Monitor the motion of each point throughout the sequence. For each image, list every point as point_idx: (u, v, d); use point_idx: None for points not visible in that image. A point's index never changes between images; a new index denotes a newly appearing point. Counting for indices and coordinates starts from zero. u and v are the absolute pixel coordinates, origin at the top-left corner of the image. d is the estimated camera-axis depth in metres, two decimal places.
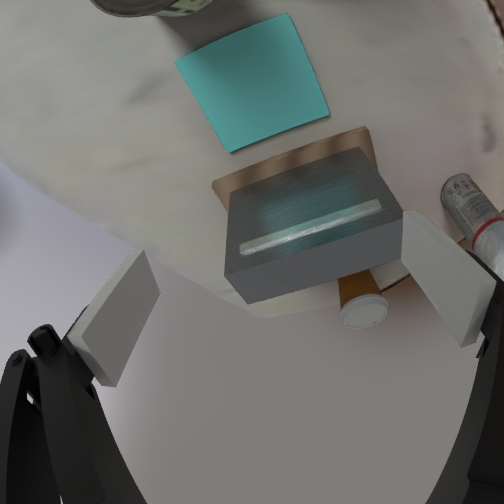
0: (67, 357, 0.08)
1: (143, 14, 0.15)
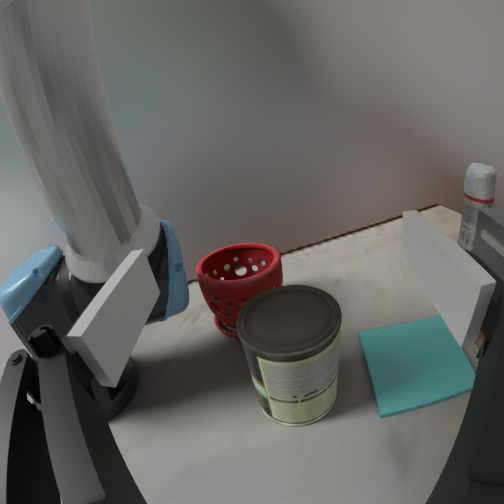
0: (67, 357, 0.08)
1: (338, 324, 0.25)
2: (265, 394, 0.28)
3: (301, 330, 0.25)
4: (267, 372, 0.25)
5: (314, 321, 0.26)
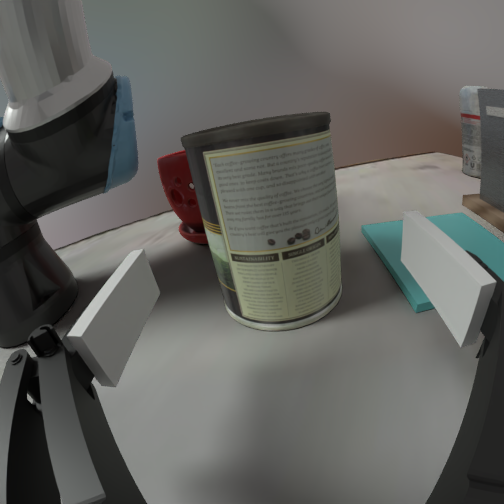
0: (67, 357, 0.08)
1: (326, 113, 0.16)
2: (225, 253, 0.19)
3: None
4: (220, 183, 0.16)
5: None
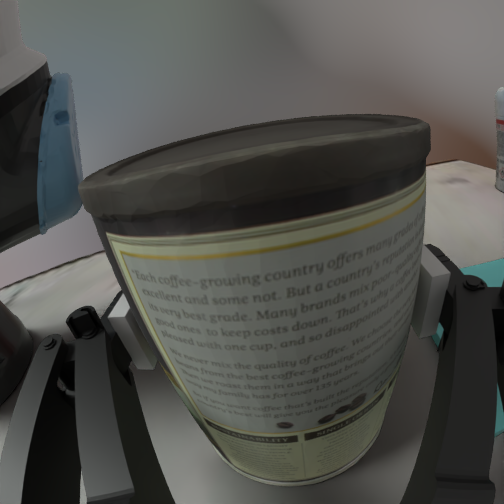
0: (107, 341, 0.08)
1: (424, 122, 0.06)
2: (194, 411, 0.09)
3: (294, 134, 0.06)
4: (158, 318, 0.06)
5: (338, 126, 0.07)
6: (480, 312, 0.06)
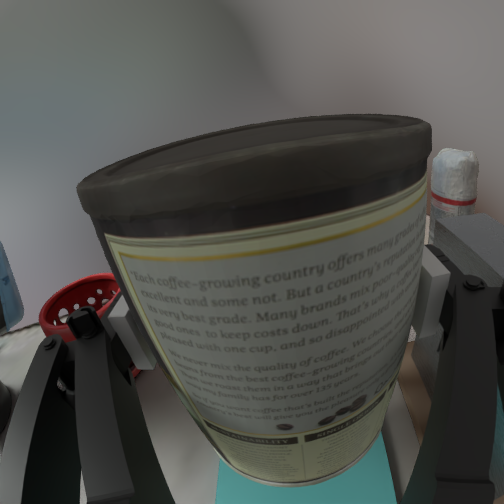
0: (107, 341, 0.08)
1: (425, 122, 0.06)
2: (193, 413, 0.09)
3: (294, 133, 0.06)
4: (157, 320, 0.06)
5: (338, 126, 0.07)
6: (480, 312, 0.06)
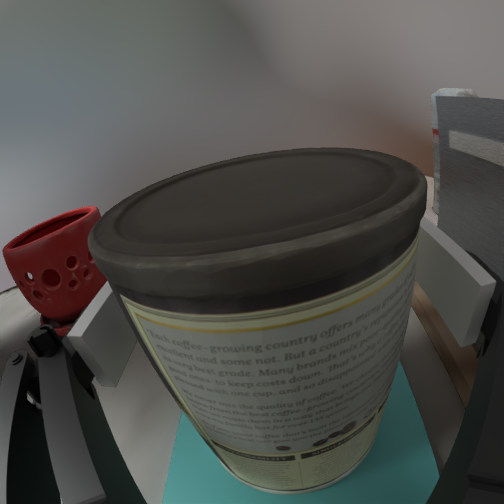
0: (67, 357, 0.08)
1: (422, 176, 0.06)
2: (201, 433, 0.09)
3: (294, 196, 0.07)
4: (171, 366, 0.06)
5: (337, 178, 0.07)
6: None
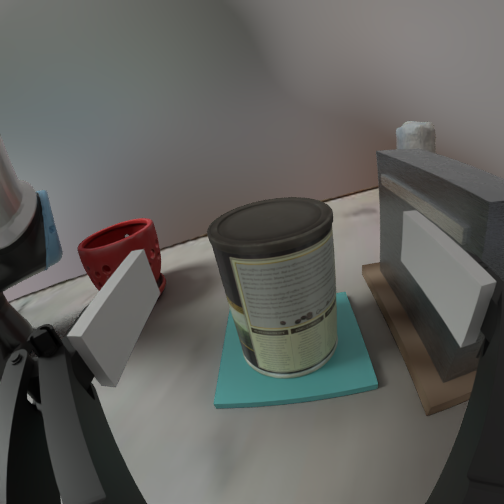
0: (67, 357, 0.08)
1: (329, 217, 0.21)
2: (246, 326, 0.24)
3: (284, 226, 0.21)
4: (244, 282, 0.21)
5: (300, 218, 0.22)
6: None
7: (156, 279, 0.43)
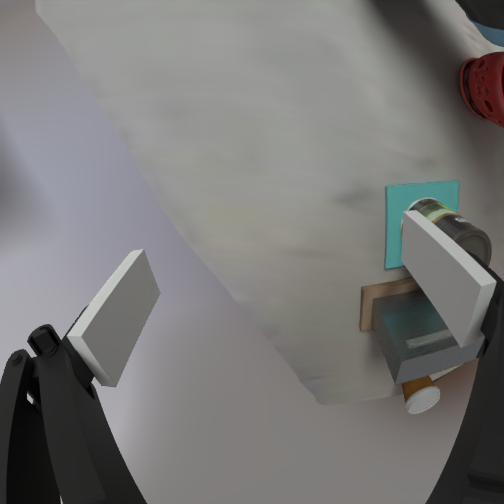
0: (67, 357, 0.08)
1: None
2: None
3: None
4: None
5: None
6: None
7: None
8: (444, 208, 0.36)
